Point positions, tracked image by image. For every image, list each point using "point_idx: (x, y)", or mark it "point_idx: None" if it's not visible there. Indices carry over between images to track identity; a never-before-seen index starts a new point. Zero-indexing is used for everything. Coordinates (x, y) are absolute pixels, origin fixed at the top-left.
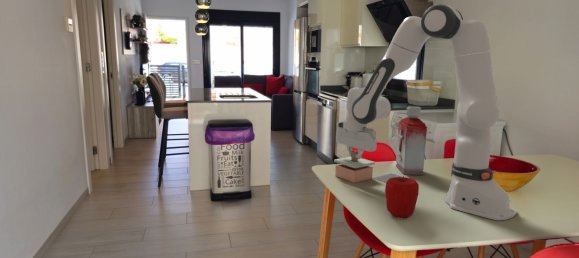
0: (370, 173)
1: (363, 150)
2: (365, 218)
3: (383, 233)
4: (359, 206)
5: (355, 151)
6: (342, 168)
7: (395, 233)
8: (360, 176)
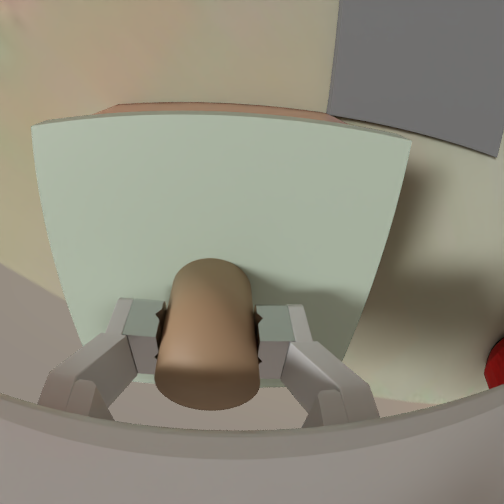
0: None
1: (369, 399)
2: (440, 401)
3: None
4: (414, 386)
5: (205, 378)
6: None
7: None
8: None
